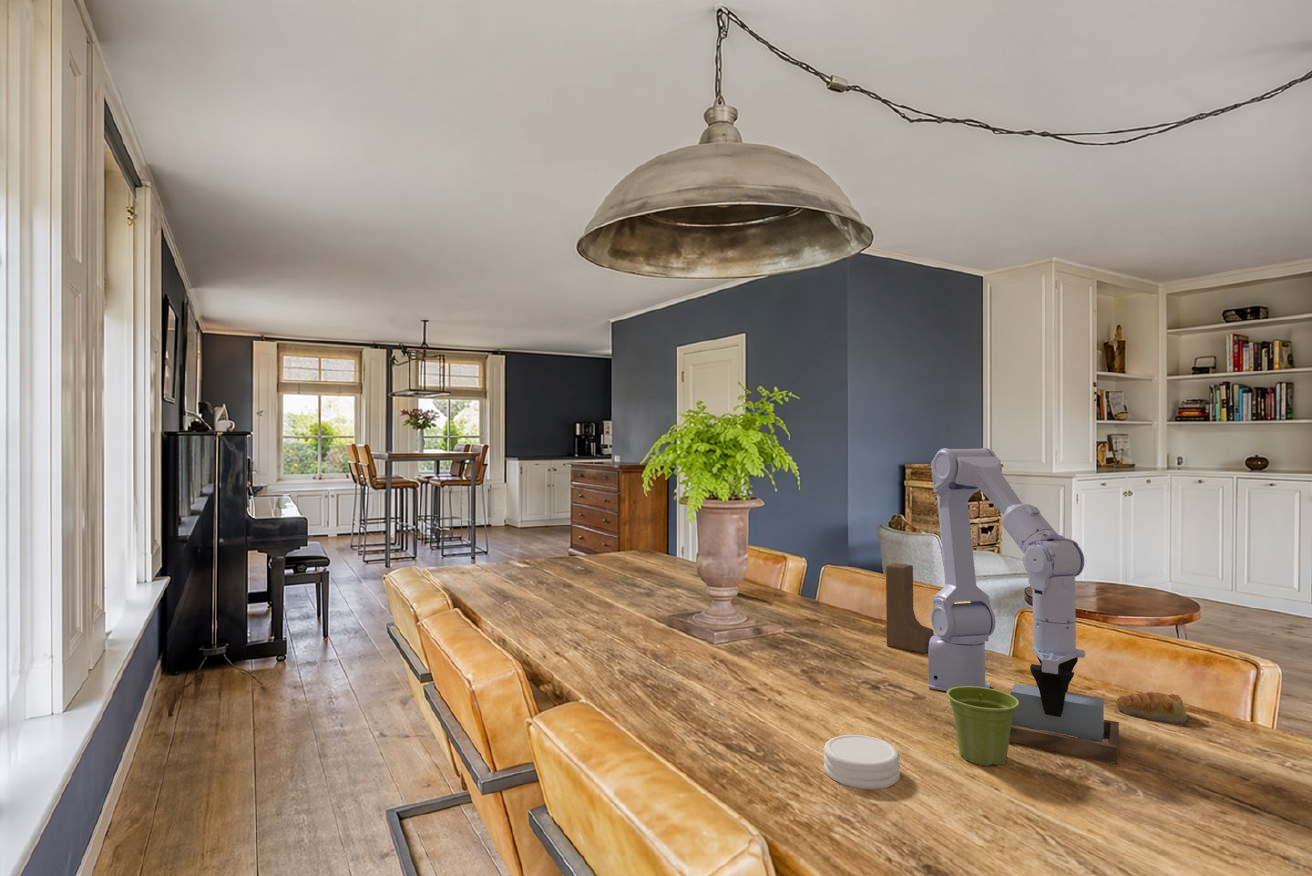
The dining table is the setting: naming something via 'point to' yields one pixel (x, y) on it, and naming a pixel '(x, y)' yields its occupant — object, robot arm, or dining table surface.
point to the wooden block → (903, 611)
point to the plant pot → (982, 723)
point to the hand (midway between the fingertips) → (1055, 708)
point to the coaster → (861, 762)
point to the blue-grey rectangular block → (1076, 719)
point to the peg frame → (1071, 742)
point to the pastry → (1153, 706)
